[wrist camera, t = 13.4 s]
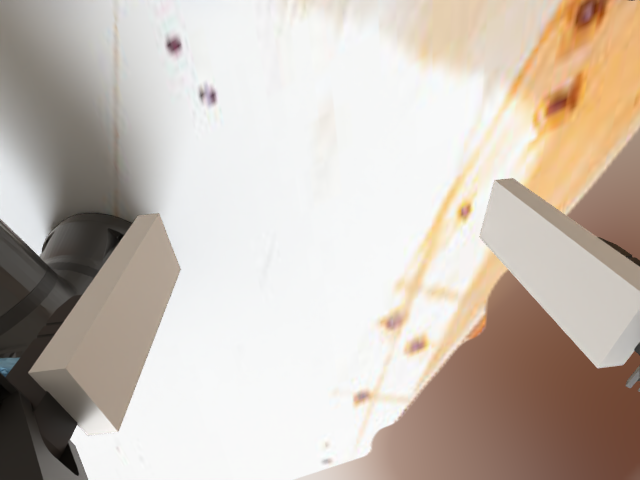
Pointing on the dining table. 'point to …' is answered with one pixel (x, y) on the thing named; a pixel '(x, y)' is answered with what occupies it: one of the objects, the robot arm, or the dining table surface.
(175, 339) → the dining table surface
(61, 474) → the robot arm
